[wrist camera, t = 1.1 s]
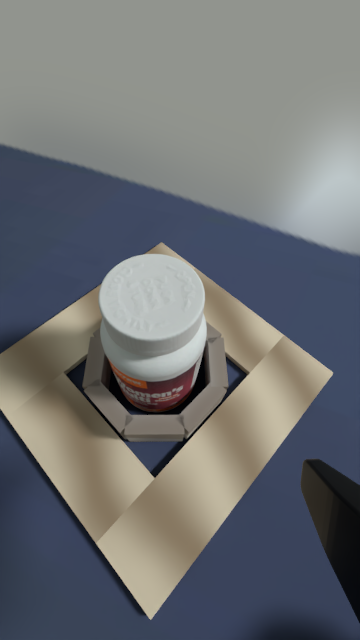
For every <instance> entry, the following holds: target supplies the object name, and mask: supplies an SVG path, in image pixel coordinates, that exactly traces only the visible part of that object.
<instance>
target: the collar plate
mask: <svg viewBox="0 0 360 640" xmlns="http://www.w3.org/2000/svg"><path fill="white" fill-rule="evenodd" d="M146 254H163V255H167V256H171V257H174V258H177V259H179V260H181V261H183V262H185V263H186V264H187V265H189V266H190V267H191V268H192V269H193V270H194V271H195V272H196V273H197V275H198V276H199V278H200V279H201V281H202V284H203V286H204V291H205V304H204V310H203V314H204V316H205V320H206V326H207V335H206V342H205V347H204V350H203V355H202V356H203V357H204V368H205V385H206V388H205V389H204V390H203V391H202V392H201V393H200V394H199V395H198V396H197V397H196V398H195V399H194V400H193V401H192V402H191V403H190V404H189V405H188V406H187V407H186V408H185V409H184V410H183V411H182V412H181V414H180V415H130V414H129V412H128V411H127V410H126V409H125V408H124V407H123V406H122V405H121V404H120V403H119V401H118V400H117V399H116V398H115V397H114V396H113V395H112V394H111V393H110V392H109V385H110V376H111V366H110V363H109V361H108V358H107V357H106V355H105V353H104V350H103V346H102V342H101V337H100V327H101V322H102V315H101V312H100V308H99V303H98V296H99V290H100V287H101V285H99V286H98V287H96V288H95V289H94V290H92V291H91V292H89V293H88V294H86V295H85V296H83V297H82V298H81V299H79V300H78V301H76V302H75V303H73V304H72V305H70V306H69V307H68V308H66V309H65V310H63V311H62V312H60V313H59V314H57V315H56V316H55V317H53V318H52V319H50V320H49V321H47V322H46V323H44V324H43V325H42V326H40V327H39V328H37V329H36V330H34V331H33V332H31V333H30V334H29V335H27V336H26V337H24V338H23V339H21V340H20V341H18V342H17V343H16V344H14V345H13V346H11V347H10V348H8V349H7V350H6V351H4V352H3V353H1V354H0V409H1V410H2V412H3V413H4V415H5V416H6V417H7V419H8V420H9V422H10V423H11V424H12V426H13V427H14V429H15V430H16V431H17V433H18V434H19V436H20V437H21V439H22V440H23V441H24V443H25V444H26V446H27V447H28V448H29V450H30V451H31V453H32V454H33V455H34V457H35V458H36V460H37V461H38V462H39V464H40V465H41V467H42V468H43V470H44V471H45V472H46V474H47V475H48V477H49V478H50V479H51V481H52V482H53V484H54V485H55V486H56V488H57V489H58V491H59V492H60V493H61V495H62V496H63V498H64V499H65V500H66V502H67V503H68V505H69V506H70V508H71V509H72V510H73V512H74V513H75V515H76V516H77V517H78V519H79V520H80V522H81V523H82V524H83V526H84V527H85V529H86V530H87V531H88V533H89V534H90V536H91V537H92V539H93V540H94V541H95V543H96V544H97V546H98V547H99V548H100V550H101V551H102V553H103V554H104V555H105V557H106V558H107V560H108V561H109V562H110V564H111V565H112V567H113V568H114V569H115V571H116V572H117V574H118V575H119V577H120V578H121V579H122V581H123V582H124V584H125V585H126V586H127V588H128V589H129V591H130V592H131V593H132V595H133V596H134V598H135V599H136V600H137V602H138V603H139V605H140V606H141V608H142V609H143V610H144V612H145V613H146V615H147V616H148V617H149V619H150V620H151V619H152V618H153V616H154V615H155V613H156V612H157V611H158V609H159V608H160V607H161V605H162V604H163V603H164V601H165V600H166V599H167V597H168V596H169V595H170V593H171V592H172V590H173V589H174V588H175V586H176V585H177V584H178V582H179V581H180V580H181V578H182V577H183V576H184V574H185V573H186V572H187V570H188V569H189V568H190V566H191V565H192V563H193V562H194V561H195V559H196V558H197V557H198V555H199V554H200V553H201V551H202V550H203V549H204V547H205V546H206V545H207V543H208V542H209V541H210V539H211V538H212V536H213V535H214V534H215V532H216V531H217V530H218V528H219V527H220V526H221V524H222V523H223V522H224V520H225V519H226V518H227V516H228V515H229V513H230V512H231V511H232V509H233V508H234V507H235V505H236V504H237V503H238V501H239V500H240V499H241V497H242V496H243V495H244V493H245V492H246V491H247V489H248V488H249V486H250V485H251V484H252V482H253V481H254V480H255V478H256V477H257V476H258V474H259V473H260V472H261V470H262V469H263V468H264V466H265V465H266V464H267V462H268V461H269V459H270V458H271V457H272V455H273V454H274V453H275V451H276V450H277V449H278V447H279V446H280V445H281V443H282V442H283V441H284V439H285V438H286V436H287V435H288V434H289V432H290V431H291V430H292V428H293V427H294V426H295V424H296V423H297V422H298V420H299V419H300V418H301V416H302V415H303V414H304V412H305V411H306V409H307V408H308V407H309V405H310V404H311V403H312V401H313V400H314V399H315V397H316V396H317V395H318V393H319V392H320V391H321V389H322V388H323V386H324V385H325V384H326V382H327V381H328V380H329V378H330V377H331V376H332V374H333V372H332V371H330V370H329V369H328V368H326V367H325V366H324V365H322V364H321V363H320V362H318V361H317V360H316V359H315V358H313V357H312V356H311V355H309V354H308V353H307V352H305V351H304V350H303V349H301V348H300V347H299V346H297V345H296V344H295V343H293V342H292V341H291V340H290V339H288V338H287V337H286V336H284V335H283V334H282V333H280V332H279V331H278V330H276V329H275V328H274V327H272V326H271V325H270V324H268V323H267V322H266V321H265V320H263V319H262V318H261V317H259V316H258V315H257V314H255V313H254V312H253V311H251V310H250V309H249V308H247V307H246V306H245V305H243V304H242V303H241V302H239V301H238V300H237V299H236V298H234V297H233V296H232V295H230V294H229V293H228V292H226V291H225V290H224V289H222V288H221V287H220V286H218V285H217V284H216V283H214V282H213V281H212V280H211V279H209V278H208V277H207V276H205V275H204V274H203V273H201V272H200V271H199V270H197V269H196V268H195V267H193V266H192V265H191V264H189V263H188V262H187V261H186V260H184V259H183V258H182V257H180V256H179V255H178V254H176V253H175V252H174V251H172V250H171V249H170V248H168V247H167V246H166V245H164V244H163V243H162V242H161V243H160V244H159V245H157V246H156V247H154V248H153V249H151V250H150V251H148V252H147V253H146ZM225 356H226V357H228V358H229V359H230V360H231V361H232V362H233V363H235V364H236V365H237V366H238V367H239V368H240V369H242V370H243V371H244V372H245V373H246V374H247V375H248V376H247V377H246V378H245V379H244V380H243V381H242V382H241V383H240V385H239V386H238V387H237V388H236V389H235V390H234V391H233V392H232V393H231V394H230V396H229V397H228V398H227V399H226V400H225V401H224V402H223V403H222V404H221V406H220V407H219V408H218V409H217V410H216V411H215V412H214V413H213V414H212V415H211V417H210V418H209V419H208V420H207V421H206V422H205V423H204V424H203V425H202V427H201V428H200V429H199V430H198V431H197V432H196V433H195V434H194V435H193V437H192V438H191V439H190V440H189V441H188V442H187V443H186V444H185V445H184V446H183V448H182V449H181V450H180V451H179V452H178V453H177V454H176V455H175V456H174V458H173V459H172V460H171V461H170V462H169V463H168V464H167V465H166V466H165V468H164V469H163V470H162V471H161V472H160V473H159V474H158V475H157V476H156V477H155V478H154V477H153V476H152V475H151V473H150V472H149V471H148V470H147V469H146V468H145V467H144V465H143V464H142V463H141V462H140V461H139V460H138V458H137V457H136V456H135V455H134V454H133V453H132V451H131V450H130V449H129V448H128V447H127V446H126V444H125V443H124V442H123V441H122V440H121V439H120V437H119V436H118V435H117V434H116V433H115V432H114V430H113V429H112V428H111V427H110V426H109V425H108V424H107V422H106V421H105V420H104V419H103V418H102V417H101V415H100V414H99V413H98V412H97V411H96V410H95V408H94V407H93V406H92V405H91V404H90V403H89V401H88V400H87V399H86V398H85V397H84V396H83V394H82V393H81V392H80V391H79V390H78V389H77V388H76V386H75V385H74V384H73V383H72V382H71V381H70V379H69V378H68V377H67V376H66V374H68V373H69V372H70V371H71V370H73V369H74V368H75V367H76V366H78V365H79V364H80V363H81V362H83V361H84V360H85V359H86V358H87V361H86V367H85V373H84V379H83V385H82V387H83V388H84V389H85V390H84V392H85V393H86V394H87V396H88V397H89V398H90V399H91V401H92V402H93V403H94V404H95V405H96V406H97V408H98V409H99V410H100V411H101V412H102V413H103V414H104V416H105V417H106V418H107V419H108V420H109V421H110V423H111V424H112V425H113V426H114V427H115V428H116V429H117V431H118V432H119V433H120V434H121V435H122V436H123V438H124V439H125V440H126V439H128V440H129V442H168V441H183V438H185V439H186V440H187V438H188V437H189V436H190V435H191V434H192V433H193V432H194V431H195V430H196V429H197V427H198V426H199V425H200V424H201V423H202V422H203V421H204V420H205V419H206V418H207V416H208V415H209V414H210V413H211V412H212V411H213V410H214V409H215V408H216V407H217V405H218V404H219V403H220V402H221V400H222V399H223V397H224V395H225V393H226V392H227V388H228V378H227V367H226V357H225Z"/></svg>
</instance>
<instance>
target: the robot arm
mask: <svg viewBox="0 0 360 640" xmlns="http://www.w3.org/2000/svg"><path fill="white" fill-rule="evenodd" d="M301 490H302V493H303V496H304V499H305V501H306V504H307V506H308V509H309V512H310V514H311V517H312V520H313V522H314V525H315V527H316V530H317V533H318V535H319V538H320V540H321V543H322V545H323V548H324V550H325V553H326V555H327V557H328V559H329V561H330V563H331V565H332V567H333V570H334V572H335V574H336V576H337V578H338V580H339V582H340V584H341V586H342V588H343V590H344V592H345V594H346V596H347V598H348V600H349V602H350V604H351V606H352V608H353V610H354V613H355V615H356V617H357V619H358V621H359V623H360V485H358V484H357V483H355V482H354V481H352V480H351V479H349V478H348V477H346V476H345V475H343V474H341V473H340V472H338V471H337V470H335V469H334V468H332V467H331V466H329V465H328V464H326V463H324V462H323V461H321V460H320V459H306V460H304V462H303V466H302V475H301Z"/></svg>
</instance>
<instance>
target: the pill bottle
mask: <svg viewBox="0 0 360 640" xmlns="http://www.w3.org/2000/svg"><path fill="white" fill-rule="evenodd" d="M98 303H99V308H100V312H101V315H102V322H101V327H100V337H101V342H102V346H103V350H104V353H105V355H106V357H107V358H108V361H109V363H110V366H111V368H112V370H113V373H114V375H115V377H116V379H117V382H118V384H119V387H120V389H121V391H122V393H123V394H124V396H125V397H126V399H127V400H128V401H129V402H130V403H131V404H133V405H134V406H135V407H137V408H139V409H141V410H144V411H148V412H165V411H169V410H171V409H174V408H175V407H177V406H179V405H180V404H182V403H183V402H184V401H185V400H186V399H187V397H188V396H189V395H190V393H191V391H192V389H193V387H194V384H195V381H196V378H197V374H198V371H199V367H200V363H201V359H202V355H203V350H204V347H205V342H206V335H207V326H206V320H205V316H204V314H203V310H204V304H205V291H204V286H203V284H202V281H201V279H200V278H199V276H198V275H197V273H196V272H195V271H194V270H193V269H192V268H191V267H190V266H189V265H187V264H186V263H185V262H183V261H181V260H179V259H177V258H174V257H171V256H167V255H163V254H144V255H138V256H135V257H132V258H129V259H127V260H125V261H123V262H121V263H120V264H118V265H117V266H115V267H114V268H113V269H112V270H111V271H110V272H109V273H108V274H107V275H106V277H105V278H104V280H103V282H102V284H101V287H100V290H99V296H98Z"/></svg>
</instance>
